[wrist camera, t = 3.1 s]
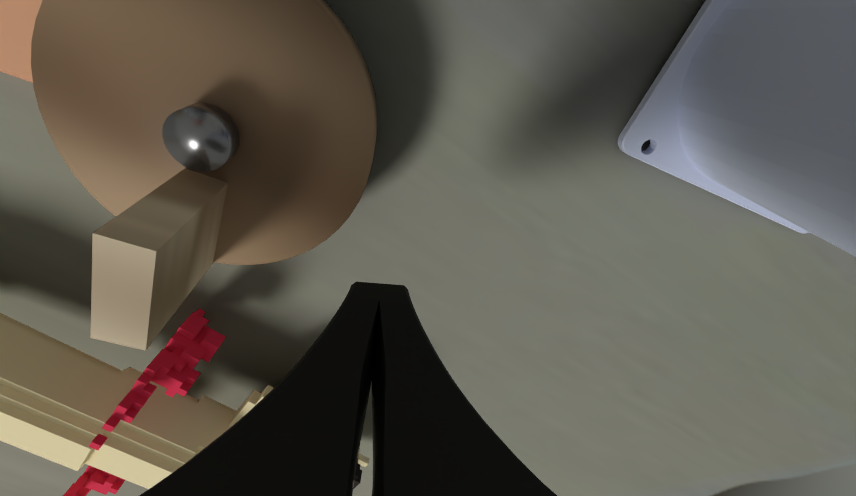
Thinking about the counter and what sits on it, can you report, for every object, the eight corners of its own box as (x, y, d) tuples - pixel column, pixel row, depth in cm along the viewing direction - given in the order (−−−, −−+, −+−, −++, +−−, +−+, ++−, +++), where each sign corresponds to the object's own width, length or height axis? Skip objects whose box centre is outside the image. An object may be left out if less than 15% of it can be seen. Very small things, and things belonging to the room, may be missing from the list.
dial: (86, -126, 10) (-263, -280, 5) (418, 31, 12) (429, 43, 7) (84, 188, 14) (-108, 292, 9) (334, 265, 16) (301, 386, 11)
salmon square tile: (77, 7, 12) (61, 7, 11) (77, 90, 13) (62, 93, 12) (-24, -33, 11) (-44, -35, 10) (-14, 57, 12) (-33, 59, 11)
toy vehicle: (-218, 260, 16) (312, 497, 23) (-803, 455, 9) (251, 725, 15) (-207, 45, 13) (417, 400, 20) (-1195, 50, 5) (406, 635, 12)
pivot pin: (245, 116, 11) (234, 123, 10) (234, 170, 11) (223, 180, 11) (181, 92, 10) (165, 98, 10) (174, 149, 11) (159, 158, 10)
